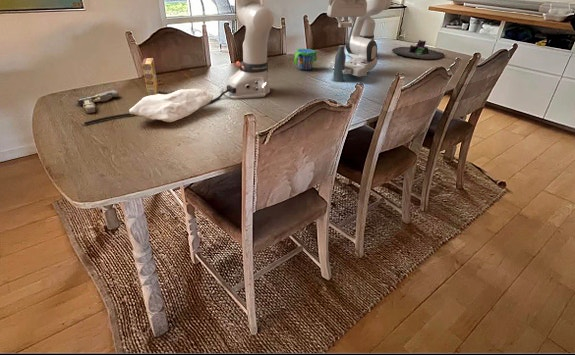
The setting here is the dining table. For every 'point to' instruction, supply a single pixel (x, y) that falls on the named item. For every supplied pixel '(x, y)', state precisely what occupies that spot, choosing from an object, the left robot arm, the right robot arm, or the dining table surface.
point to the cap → (346, 24)
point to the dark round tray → (418, 51)
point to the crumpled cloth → (171, 104)
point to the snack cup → (305, 58)
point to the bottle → (339, 64)
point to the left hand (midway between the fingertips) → (345, 27)
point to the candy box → (150, 76)
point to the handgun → (95, 100)
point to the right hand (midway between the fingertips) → (338, 70)
